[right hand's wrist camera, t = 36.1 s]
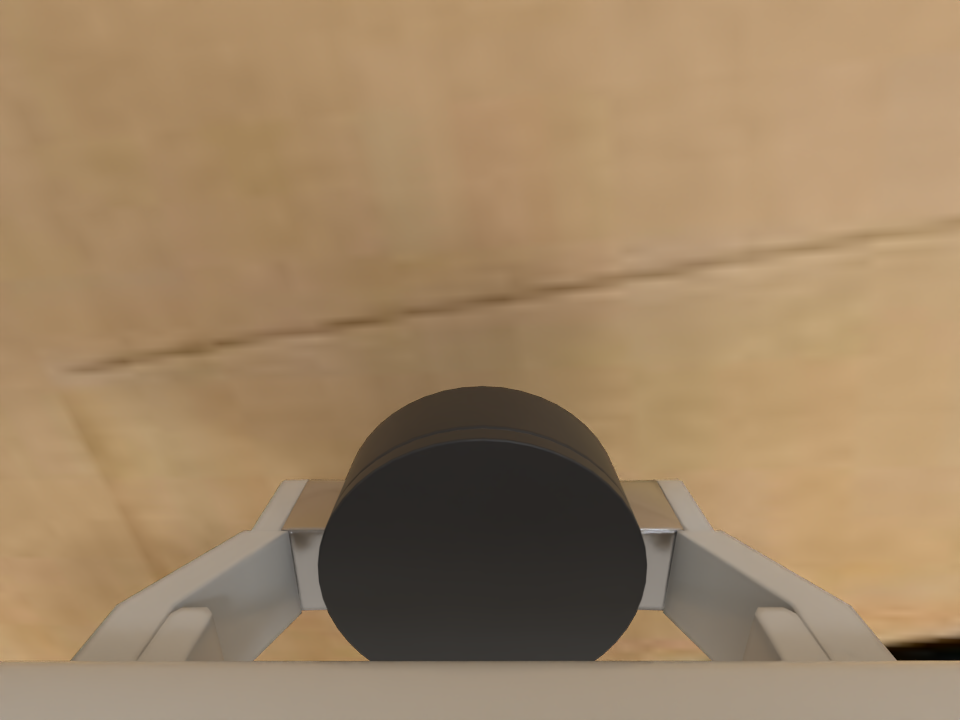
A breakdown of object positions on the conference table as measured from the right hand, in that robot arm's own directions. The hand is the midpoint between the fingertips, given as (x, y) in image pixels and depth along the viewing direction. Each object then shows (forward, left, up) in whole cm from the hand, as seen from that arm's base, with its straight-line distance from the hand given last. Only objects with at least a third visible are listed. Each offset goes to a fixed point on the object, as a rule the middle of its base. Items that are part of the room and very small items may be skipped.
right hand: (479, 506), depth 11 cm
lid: (0, 0, +2) cm, 2 cm away
